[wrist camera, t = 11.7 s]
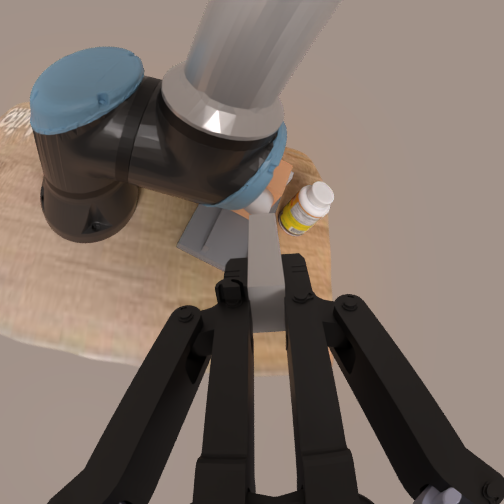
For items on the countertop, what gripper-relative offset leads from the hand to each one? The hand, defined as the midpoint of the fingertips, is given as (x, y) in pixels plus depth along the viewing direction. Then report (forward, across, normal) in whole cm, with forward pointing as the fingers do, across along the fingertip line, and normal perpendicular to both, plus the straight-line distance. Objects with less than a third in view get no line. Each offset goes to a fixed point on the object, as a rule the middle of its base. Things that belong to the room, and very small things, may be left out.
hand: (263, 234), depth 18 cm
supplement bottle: (+32, +5, -16) cm, 36 cm away
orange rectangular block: (+29, -2, -11) cm, 31 cm away
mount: (+28, -5, -13) cm, 31 cm away
